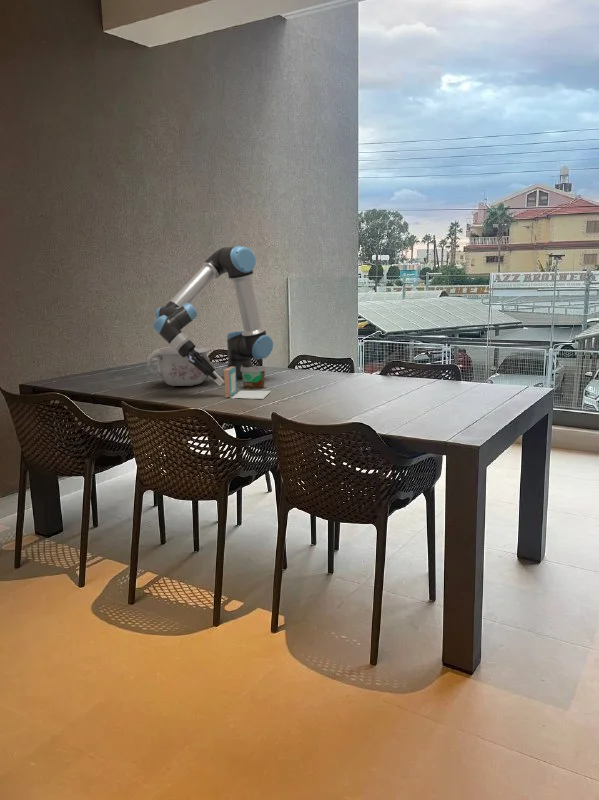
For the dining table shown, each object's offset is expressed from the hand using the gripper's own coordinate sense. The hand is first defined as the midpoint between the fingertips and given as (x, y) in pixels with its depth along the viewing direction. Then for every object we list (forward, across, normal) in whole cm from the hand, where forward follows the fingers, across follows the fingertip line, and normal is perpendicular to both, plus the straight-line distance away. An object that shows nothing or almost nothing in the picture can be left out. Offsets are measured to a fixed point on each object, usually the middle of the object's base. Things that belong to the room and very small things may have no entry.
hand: (222, 383), depth 278 cm
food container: (+10, -17, +2) cm, 20 cm away
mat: (+13, 0, +5) cm, 14 cm away
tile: (+6, 0, -1) cm, 6 cm away
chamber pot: (-15, -25, -22) cm, 37 cm away
